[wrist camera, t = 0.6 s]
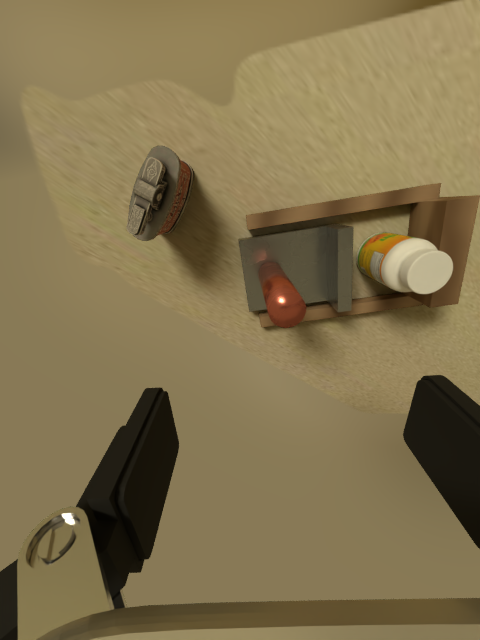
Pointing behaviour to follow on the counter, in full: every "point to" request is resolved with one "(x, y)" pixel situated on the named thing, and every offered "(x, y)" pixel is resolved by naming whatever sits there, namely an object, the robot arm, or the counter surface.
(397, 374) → the counter surface
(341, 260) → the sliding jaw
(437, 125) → the counter surface
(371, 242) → the supplement bottle
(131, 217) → the lighter
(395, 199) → the bench clamp
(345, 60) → the counter surface
